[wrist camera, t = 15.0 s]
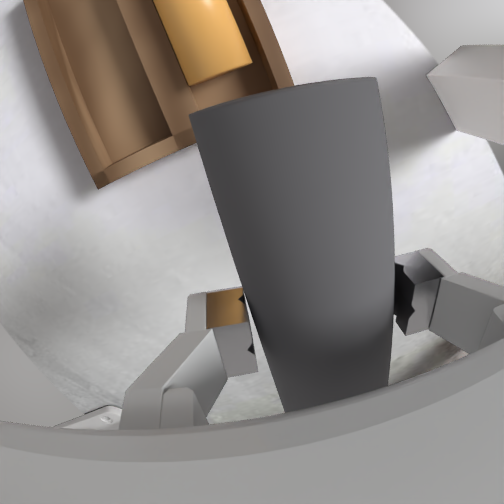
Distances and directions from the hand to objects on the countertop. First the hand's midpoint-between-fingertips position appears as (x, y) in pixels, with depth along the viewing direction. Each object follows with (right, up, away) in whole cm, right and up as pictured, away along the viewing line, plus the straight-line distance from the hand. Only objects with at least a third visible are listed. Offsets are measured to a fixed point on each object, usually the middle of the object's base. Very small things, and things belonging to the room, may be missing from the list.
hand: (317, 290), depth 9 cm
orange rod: (-5, +17, +7) cm, 19 cm away
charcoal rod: (0, +1, +1) cm, 2 cm away
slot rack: (-9, +16, +8) cm, 20 cm away
